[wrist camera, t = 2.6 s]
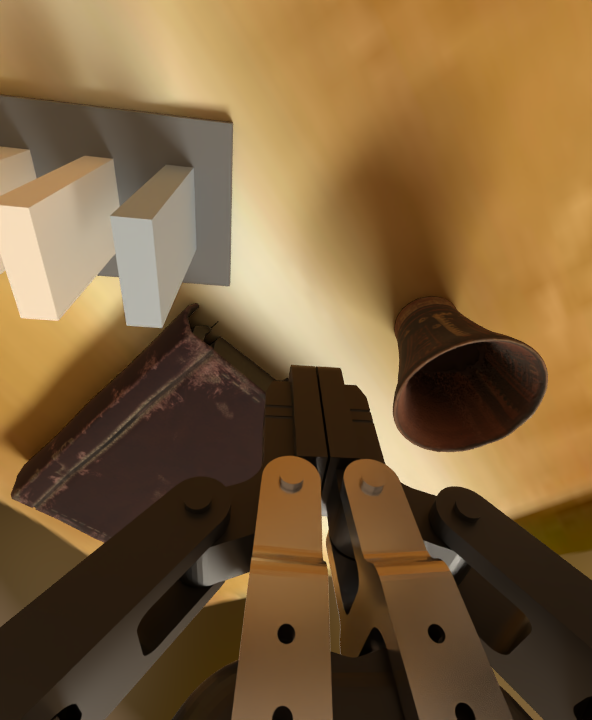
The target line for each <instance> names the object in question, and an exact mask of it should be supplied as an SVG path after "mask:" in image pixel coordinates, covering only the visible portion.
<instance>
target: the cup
mask: <svg viewBox="0 0 592 720" xmlns="http://www.w3.org/2000/svg"><path fill="white" fill-rule="evenodd" d="M395 336H396V339H397V341H398V349H399V373H398V384H397V387H396V391H395V395H394V403H393V416H394V421H395V424H396V426H397V428H398V430H399V431H400V433H401V434H402V435H403V436H404V437H405V438H406V439H407V440H409V441H410V442H411V443H413V444H415V445H417V446H419V447H421V448H424V449H427V450H432V451H436V452H456V451H467V450H470V449H474V448H478V447H481V446H484V445H486V444H489V443H492V442H495V441H498V440H500V439H503V438H504V437H506V436H508V435H509V434H511V433H512V432H513V431H515V430H516V429H517V428H518V427H519V426H521V425H522V424H523V423H524V424H525V422H526V421H527V420H528V419H530V418H531V417H532V415H533V414H534V413H535V411H536V410H537V408H538V407H539V405H540V403H541V402H542V399H543V397H544V394H545V392H546V389H547V383H548V373H547V368H546V365H545V363H544V361H543V359H542V357H541V356H540V355H539V354H538V353H537V352H536V351H535V350H534V349H533V348H532V347H530V346H529V345H527V344H525V343H524V342H521V341H519V340H517V339H514V338H512V337H509V336H506V335H503V334H499V333H495V332H492V331H489V330H487V329H485V328H483V327H481V326H479V325H478V324H476V323H474V322H473V321H471V320H469V319H468V318H466V317H465V316H463V315H462V314H461V313H460V312H458V311H457V310H456V308H455V306H454V305H453V304H452V303H451V302H449V301H448V300H446V299H443V298H440V297H425V298H420V299H417V300H415V301H412V302H411V303H409V304H408V305H407V306H406V307H404V308H403V310H402V311H401V312H400V313H399V315H398V317H397V319H396V324H395Z"/></svg>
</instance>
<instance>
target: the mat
mask: <svg viewBox="0 0 592 720" xmlns="http://www.w3.org/2000/svg"><path fill="white" fill-rule="evenodd" d="M0 147H10V148H19V149H28V150H30V153H31V157H32V161H33V166H34V170H35V174H36V178H39V177H41V176H43V175H45V174H47V173H49V172H51V171H53V170H56V169H58V168H60V167H62V166H64V165H66V164H68V163H70V162H72V161H74V160H76V159H79V158H81V157H83V156H92V157H101V158H110V159H113V161H114V168H115V176H116V183H117V190H118V197H119V205H120V206H121V205H122V204H123V203H124V202H125V201H127V200H128V199H129V198H130V197H131V196H132V195H133V194H134V193H135V192H136V191H138V190H139V189H140V188H141V187H142V186H143V185H144V184H145V183H146V182H147V181H149V180H150V179H151V178H152V177H153V176H154V175H155V174H156V173H157V172H158V171H160V170H161V169H162V168H163V167H164V166H165V165H175V166H184V167H193V168H194V190H195V220H196V251H195V254H194V256H193V258H192V261H191V263H190V265H189V267H188V270H187V272H186V274H185V277H184V279H183V281H182V282H183V283H195V284H207V285H219V286H230V265H231V208H232V151H233V123H232V122H224V121H216V120H208V119H199V118H191V117H183V116H174V115H166V114H158V113H149V112H141V111H133V110H124V109H116V108H108V107H100V106H91V105H83V104H75V103H66V102H58V101H50V100H41V99H33V98H25V97H16V96H8V95H0ZM98 276H110V277H119V273H118V266H117V260H116V253H115V255H114V256H113V257H112V258H111V259H110V261H109V262H108V263H107V264H106V265H105V266H104V268H103V269H102V270H101V271H100V272H99V273H98Z"/></svg>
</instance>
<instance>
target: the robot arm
mask: <svg viewBox="0 0 592 720" xmlns="http://www.w3.org/2000/svg"><path fill="white" fill-rule="evenodd" d="M322 516H327V518H328V526H329V530H328V534H327V538H326V548H327V553H328V558H329V564H330V569H331V574H332V579H333V585H334V590H335V596H336V601H337V607H338V611H339V618H340V653H341V654H337V653H334V652H331V651H330V623H329V622H330V621H329V594H328V593H329V590H328V570H327V564H326V562H325V561H323V555H322ZM248 572H250V573H249V581H248V589H247V597H246V605H245V613H244V621H243V629H242V637H241V646H240V654H239V660H237V661H234V662H232V663H230V664H229V665H226V666H224V667H223V668H221V669H220V670H218V671H217V672H215V673H214V674H212V675H211V676H210V677H208V678H207V679H206V680H205V681H204V682H203V683H202V684H200V685H199V686H198V687H197V688H196V690H195V691H194V692H193V693H192V694H191V695H190V696H189V697H188V698H187V700H186V701H185V703H184V704H183V705H182V706H181V708H180V709H179V710H178V712H177V713H176V715H175V716H174V717H173V719H172V720H533V719H532V718H531V717H530V716H529V715H528V714H527V713H526V712H525V711H524V709H523V708H522V707H521V706H520V705H519V704H518V703H517V702H516V701H515V700H514V699H513V698H512V697H511V696H510V695H509V694H508V693H507V692H506V691H505V690H504V689H503V688H502V687H501V686H499V684H498V682H497V680H496V677H495V675H494V672H493V670H492V668H493V669H494V670H495V671H496V672H497V673H498V674H499V675H500V676H501V677H502V678H503V679H504V680H505V681H506V682H507V683H508V684H509V685H510V686H511V687H512V688H513V689H514V690H515V691H516V692H517V693H518V694H519V695H520V696H521V697H522V698H523V699H524V700H525V701H526V702H527V703H528V704H529V705H530V706H531V707H532V708H533V709H534V710H535V711H536V712H537V713H538V714H539V715H540V716H541V717H542V718H543V719H544V720H592V580H590V579H589V578H588V577H587V576H585V575H584V574H583V573H581V572H580V571H579V570H577V569H576V568H575V567H573V566H572V565H571V564H569V563H568V562H567V561H566V560H564V559H563V558H562V557H560V556H559V555H558V554H556V553H555V552H554V551H552V550H551V549H550V548H548V547H547V546H546V545H544V544H543V543H542V542H541V541H539V540H538V539H537V538H535V537H534V536H533V535H531V534H530V533H529V532H527V531H526V530H525V529H523V528H522V527H521V526H519V525H518V524H517V523H516V522H514V521H513V520H512V519H510V518H509V517H508V516H506V515H505V514H504V513H502V512H501V511H500V510H498V509H497V508H496V507H494V506H493V505H492V504H491V503H489V502H488V501H487V500H485V499H484V498H483V497H481V496H480V495H478V494H477V493H475V492H473V491H471V490H469V489H466V488H463V487H447V488H445V489H443V490H441V491H440V492H439V494H438V495H437V496H435V495H431V494H428V493H425V492H422V491H419V490H416V489H413V488H410V487H408V486H406V485H404V484H403V483H401V482H400V480H399V478H398V476H397V475H396V474H395V472H394V471H393V470H392V469H391V468H389V467H388V466H387V465H385V462H384V459H383V455H382V451H381V448H380V444H379V441H378V437H377V434H376V430H375V426H374V423H373V419H372V416H371V412H370V408H369V405H368V401H367V398H366V396H365V395H364V394H363V393H362V391H361V390H360V389H359V388H358V387H357V385H344V380H343V376H342V371H341V369H340V368H333V367H317V366H316V368H315V366H300V365H291V367H290V373H289V381H273V382H272V383H271V385H270V386H269V388H268V389H267V391H266V396H265V407H264V418H263V433H262V464H261V469H260V470H259V471H258V472H257V473H256V474H255V475H254V476H253V477H252V478H250V479H248V480H246V481H244V482H241V483H238V484H234V485H230V486H226V487H225V485H223V484H222V483H221V482H220V481H218V480H216V479H213V478H210V477H203V476H200V477H192V478H189V479H186V480H184V481H182V482H180V483H179V484H177V485H176V486H175V487H173V488H172V489H171V490H170V491H168V492H167V493H166V494H165V495H164V496H162V497H161V498H160V499H159V500H157V501H156V502H155V503H154V504H152V505H151V506H150V507H149V508H147V509H146V510H145V511H144V512H142V513H141V514H140V515H139V516H138V517H136V518H135V519H134V520H133V521H131V522H130V523H129V524H128V525H126V526H125V527H124V528H123V529H121V530H120V531H119V532H118V533H116V534H115V535H114V536H113V537H112V538H110V539H109V540H108V541H107V542H105V543H104V544H103V545H102V546H100V547H99V548H98V549H97V550H95V551H94V552H93V553H92V554H90V555H89V556H88V557H87V558H86V559H84V560H83V561H82V562H81V563H79V564H78V565H77V566H76V567H75V568H73V569H72V570H71V571H69V572H68V573H67V574H66V575H64V576H63V577H62V578H61V579H60V580H59V581H57V582H56V583H55V584H53V585H52V586H51V587H50V588H49V589H47V590H46V591H45V592H44V593H42V594H41V595H40V596H38V597H37V598H36V599H35V600H34V601H32V602H31V603H30V604H29V605H27V606H26V607H25V608H24V609H22V610H21V611H20V612H19V613H17V614H16V615H15V616H14V617H12V618H11V619H10V620H9V621H8V622H6V623H5V624H4V625H3V626H2V627H0V720H105V719H106V718H107V717H108V715H109V714H110V713H111V712H112V711H113V710H114V708H115V707H116V706H117V705H118V704H119V703H120V702H121V700H122V699H123V698H124V697H125V696H126V695H127V694H128V692H129V691H130V690H131V689H132V688H133V687H134V686H135V684H136V683H137V682H138V681H139V680H140V679H141V678H142V676H143V675H144V674H145V673H146V672H147V671H148V670H149V669H150V667H151V666H152V665H153V664H154V663H155V662H156V661H157V659H158V658H159V657H160V656H161V655H162V654H163V653H164V651H165V650H166V649H167V648H168V647H169V646H170V645H171V643H172V642H173V641H174V640H175V639H176V637H177V636H178V635H179V634H180V633H181V632H182V631H183V630H184V629H185V627H186V626H187V625H188V624H189V623H190V622H191V621H192V619H193V618H194V617H195V616H196V615H197V614H198V613H199V611H200V610H201V609H202V608H203V607H204V606H205V605H206V603H207V602H208V601H209V600H210V599H211V598H212V597H213V595H214V594H215V593H216V592H217V591H218V590H219V589H220V587H221V586H222V585H223V584H224V582H225V580H227V579H230V578H233V577H236V576H239V575H242V574H245V573H248ZM491 667H492V668H491Z"/></svg>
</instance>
